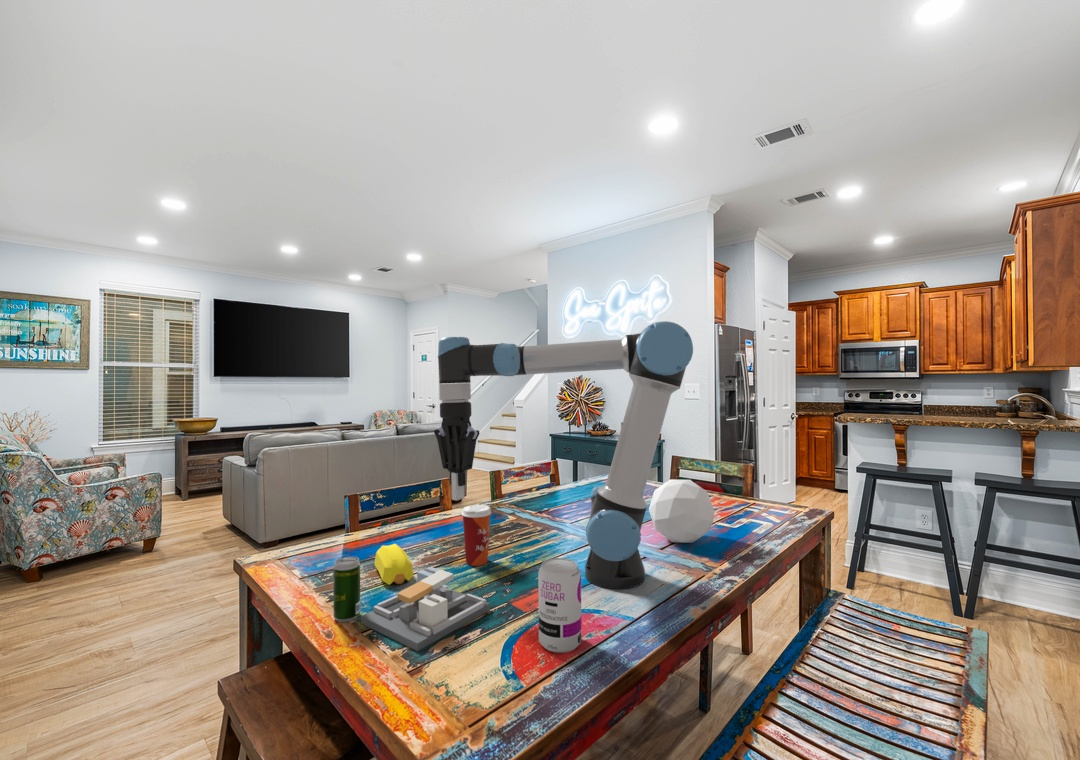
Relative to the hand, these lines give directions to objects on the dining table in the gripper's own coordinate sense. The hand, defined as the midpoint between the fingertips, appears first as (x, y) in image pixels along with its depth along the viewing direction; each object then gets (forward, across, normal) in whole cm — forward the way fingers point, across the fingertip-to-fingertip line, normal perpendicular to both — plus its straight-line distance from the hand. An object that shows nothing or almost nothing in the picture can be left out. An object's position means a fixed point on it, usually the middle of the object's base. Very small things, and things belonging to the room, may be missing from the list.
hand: (458, 498), depth 117 cm
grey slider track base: (+22, -3, +14) cm, 26 cm away
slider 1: (+20, +3, +7) cm, 22 cm away
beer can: (+22, +12, +23) cm, 34 cm away
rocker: (+16, -3, +14) cm, 21 cm away
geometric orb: (+24, -34, -64) cm, 76 cm away
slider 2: (+20, -9, +18) cm, 28 cm away
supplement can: (+23, -32, +7) cm, 40 cm away
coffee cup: (+22, +9, -16) cm, 29 cm away
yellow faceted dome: (+22, +21, +2) cm, 31 cm away
